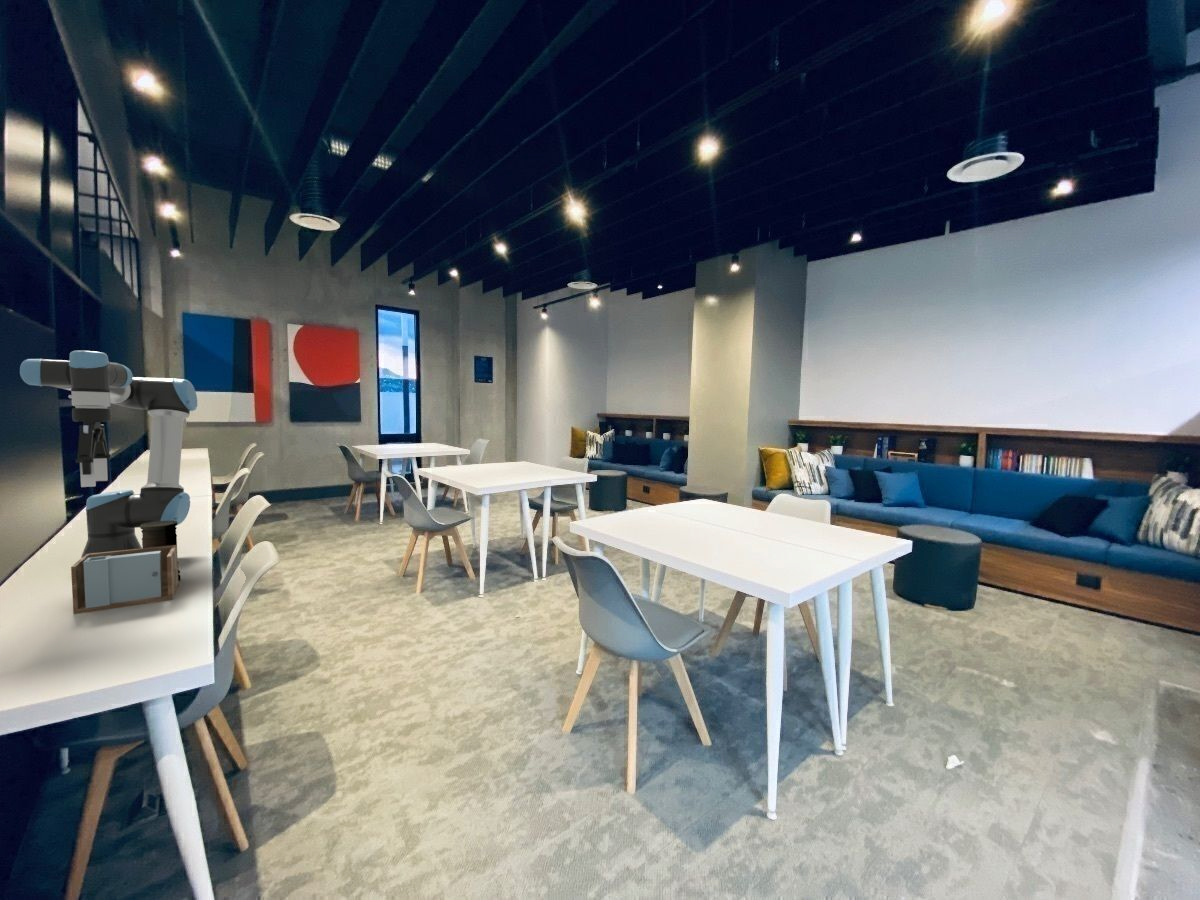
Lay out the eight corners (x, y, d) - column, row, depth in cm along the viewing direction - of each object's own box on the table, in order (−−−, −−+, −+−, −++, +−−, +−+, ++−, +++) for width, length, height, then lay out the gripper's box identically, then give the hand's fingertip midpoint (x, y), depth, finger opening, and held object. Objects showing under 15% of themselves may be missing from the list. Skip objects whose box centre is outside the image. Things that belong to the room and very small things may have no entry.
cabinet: (88, 596, 137) (86, 553, 136) (178, 584, 148) (177, 544, 147) (73, 613, 126) (71, 567, 125) (172, 599, 136) (170, 556, 136)
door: (90, 602, 130) (87, 557, 129) (163, 592, 138) (161, 550, 138) (85, 608, 126) (83, 562, 126) (160, 597, 135) (158, 554, 134)
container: (135, 583, 148) (132, 524, 147) (172, 575, 156) (170, 518, 155) (149, 589, 144) (146, 527, 143) (186, 580, 152) (184, 522, 150)
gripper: (84, 407, 146) (88, 479, 148) (57, 406, 126) (61, 490, 127) (119, 408, 151) (122, 477, 152) (98, 407, 130) (102, 488, 131)
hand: (95, 483), depth 140 cm, fingers open, 13 cm apart
